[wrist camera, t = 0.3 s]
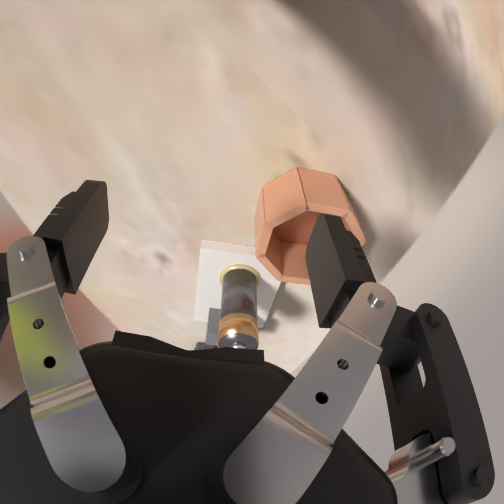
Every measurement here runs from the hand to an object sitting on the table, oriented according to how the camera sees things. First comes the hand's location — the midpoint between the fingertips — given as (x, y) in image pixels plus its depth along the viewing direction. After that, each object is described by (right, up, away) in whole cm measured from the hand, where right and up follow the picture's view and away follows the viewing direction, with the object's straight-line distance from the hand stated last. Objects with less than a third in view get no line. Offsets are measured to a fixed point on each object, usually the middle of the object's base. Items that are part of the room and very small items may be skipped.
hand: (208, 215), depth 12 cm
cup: (+7, +3, +22) cm, 23 cm away
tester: (0, -6, +30) cm, 30 cm away
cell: (0, -5, +26) cm, 27 cm away
